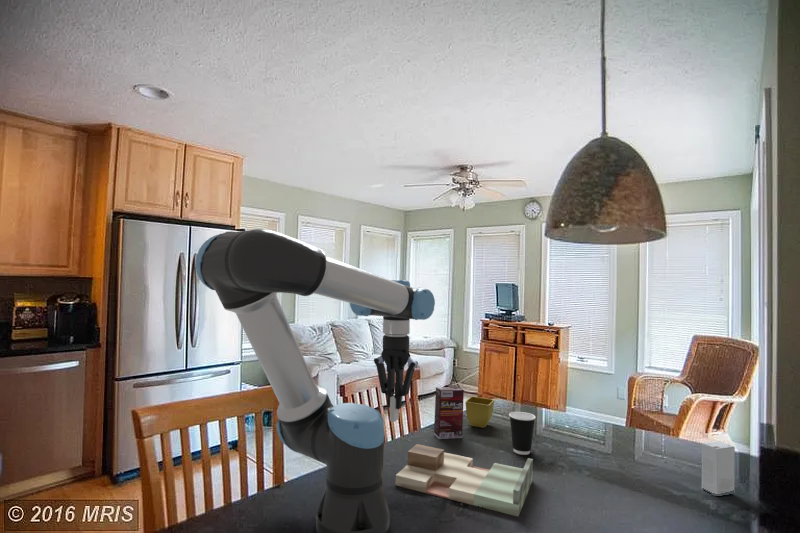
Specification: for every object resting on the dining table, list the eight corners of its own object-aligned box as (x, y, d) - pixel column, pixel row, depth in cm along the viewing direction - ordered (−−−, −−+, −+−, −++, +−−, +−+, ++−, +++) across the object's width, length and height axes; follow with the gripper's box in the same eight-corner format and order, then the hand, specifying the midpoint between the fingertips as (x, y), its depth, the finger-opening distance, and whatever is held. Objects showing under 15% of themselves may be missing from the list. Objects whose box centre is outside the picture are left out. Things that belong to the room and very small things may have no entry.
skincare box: (717, 487, 111) (717, 440, 112) (736, 495, 107) (735, 446, 107) (700, 490, 109) (700, 441, 110) (717, 498, 105) (717, 448, 106)
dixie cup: (503, 448, 134) (503, 412, 134) (524, 445, 137) (525, 410, 137) (518, 458, 126) (518, 420, 127) (540, 455, 129) (541, 418, 130)
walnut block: (435, 471, 110) (436, 457, 110) (407, 464, 113) (407, 451, 113) (443, 462, 115) (444, 449, 115) (416, 456, 119) (416, 444, 119)
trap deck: (518, 516, 94) (518, 491, 94) (395, 485, 107) (396, 462, 107) (532, 480, 112) (532, 459, 112) (425, 457, 125) (426, 438, 125)
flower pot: (494, 424, 158) (494, 399, 158) (488, 431, 150) (489, 404, 150) (470, 420, 161) (471, 396, 162) (464, 426, 153) (465, 401, 154)
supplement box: (438, 440, 139) (439, 390, 140) (433, 434, 144) (434, 387, 145) (463, 438, 142) (464, 389, 142) (457, 433, 146) (458, 386, 147)
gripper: (422, 335, 121) (421, 419, 120) (381, 331, 126) (379, 412, 125) (411, 338, 114) (410, 427, 113) (369, 334, 119) (367, 420, 119)
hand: (394, 419), depth 119 cm, fingers closed
